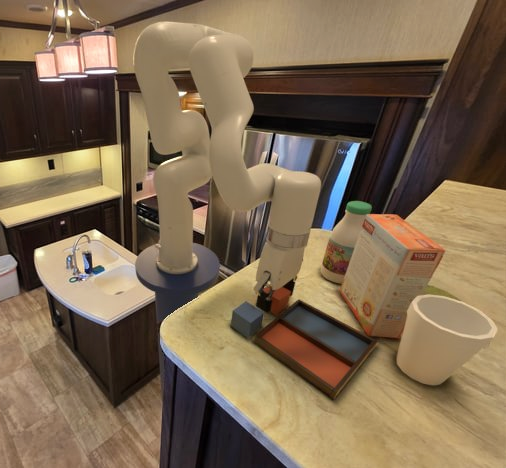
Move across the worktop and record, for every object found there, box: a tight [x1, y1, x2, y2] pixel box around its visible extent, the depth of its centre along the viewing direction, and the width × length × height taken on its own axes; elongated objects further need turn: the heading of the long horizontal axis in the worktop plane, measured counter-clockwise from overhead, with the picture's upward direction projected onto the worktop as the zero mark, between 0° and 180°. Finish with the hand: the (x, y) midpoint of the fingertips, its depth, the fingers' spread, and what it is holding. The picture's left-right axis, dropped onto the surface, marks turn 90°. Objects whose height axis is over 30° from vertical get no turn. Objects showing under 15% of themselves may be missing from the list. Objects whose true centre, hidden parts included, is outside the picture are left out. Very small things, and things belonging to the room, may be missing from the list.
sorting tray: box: [253, 298, 378, 400], centre depth 56 cm, size 15×16×2 cm
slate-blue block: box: [230, 300, 265, 339], centre depth 61 cm, size 4×4×4 cm
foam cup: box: [395, 294, 499, 386], centre depth 48 cm, size 10×9×13 cm
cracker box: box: [339, 213, 447, 340], centre depth 58 cm, size 14×6×21 cm, turn 170°
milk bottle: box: [320, 200, 373, 285], centre depth 70 cm, size 8×8×20 cm
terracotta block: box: [263, 283, 292, 317], centre depth 66 cm, size 4×4×4 cm
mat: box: [423, 284, 461, 301], centre depth 63 cm, size 11×11×2 cm
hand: (274, 300), depth 66 cm, fingers open, 8 cm apart
